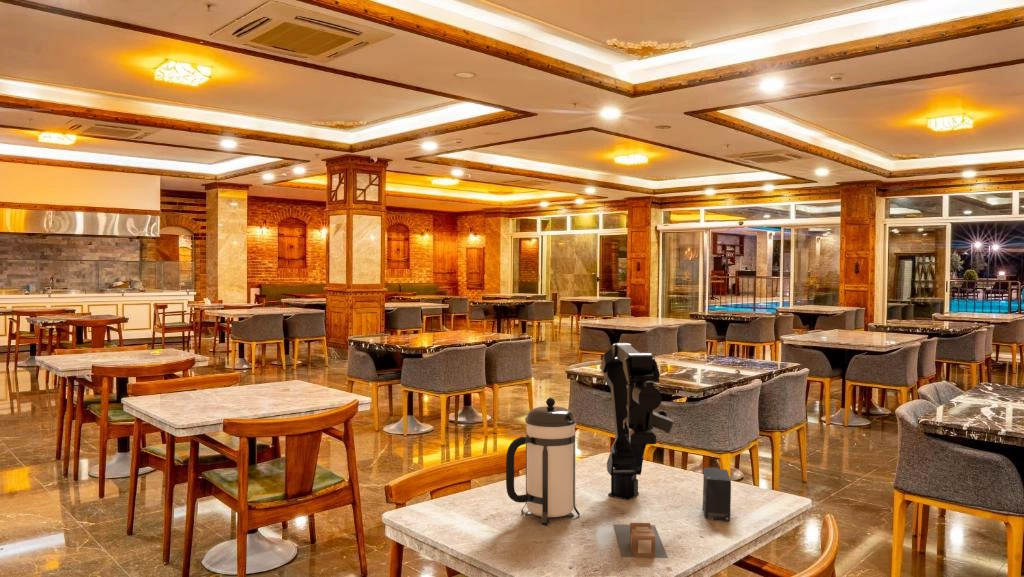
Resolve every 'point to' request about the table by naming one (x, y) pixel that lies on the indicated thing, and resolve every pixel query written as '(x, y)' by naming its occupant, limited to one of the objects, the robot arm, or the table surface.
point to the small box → (716, 494)
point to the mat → (624, 541)
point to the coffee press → (546, 462)
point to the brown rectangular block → (642, 540)
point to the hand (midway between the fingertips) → (638, 464)
